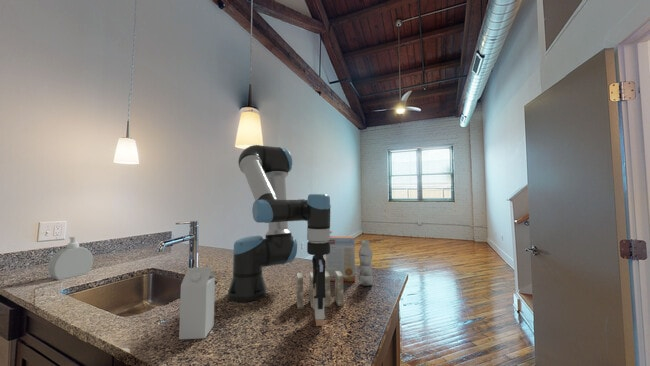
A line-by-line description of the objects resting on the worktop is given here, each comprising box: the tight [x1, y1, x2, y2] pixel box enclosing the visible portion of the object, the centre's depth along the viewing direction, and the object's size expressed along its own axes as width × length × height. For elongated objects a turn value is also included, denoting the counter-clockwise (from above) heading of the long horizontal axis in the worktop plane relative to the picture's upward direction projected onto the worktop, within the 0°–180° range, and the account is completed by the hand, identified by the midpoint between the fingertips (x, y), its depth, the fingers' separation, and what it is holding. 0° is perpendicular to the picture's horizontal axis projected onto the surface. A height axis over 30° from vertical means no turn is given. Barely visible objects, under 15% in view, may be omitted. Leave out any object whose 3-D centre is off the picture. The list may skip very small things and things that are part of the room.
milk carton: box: [178, 267, 216, 340], centre depth 75 cm, size 7×7×19 cm
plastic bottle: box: [358, 239, 374, 287], centre depth 115 cm, size 6×7×20 cm
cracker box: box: [325, 235, 356, 283], centre depth 123 cm, size 14×6×21 cm, turn 84°
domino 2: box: [309, 271, 315, 309], centre depth 95 cm, size 2×6×11 cm, turn 8°
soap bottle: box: [47, 236, 94, 281], centre depth 129 cm, size 16×5×20 cm, turn 161°
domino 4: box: [334, 271, 344, 307], centre depth 96 cm, size 2×6×11 cm, turn 8°
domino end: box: [314, 283, 324, 327], centre depth 81 cm, size 2×6×11 cm, turn 8°
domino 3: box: [324, 271, 331, 308], centre depth 95 cm, size 2×6×11 cm, turn 8°
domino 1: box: [296, 272, 304, 310], centre depth 94 cm, size 2×6×11 cm, turn 8°
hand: (318, 313), depth 81 cm, fingers closed on domino end, 6 cm apart
